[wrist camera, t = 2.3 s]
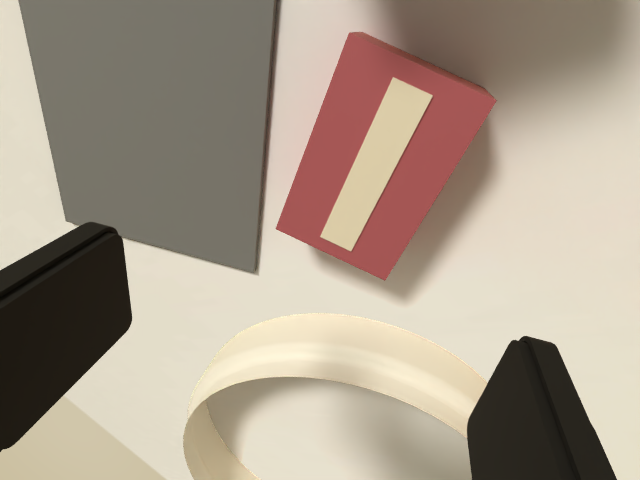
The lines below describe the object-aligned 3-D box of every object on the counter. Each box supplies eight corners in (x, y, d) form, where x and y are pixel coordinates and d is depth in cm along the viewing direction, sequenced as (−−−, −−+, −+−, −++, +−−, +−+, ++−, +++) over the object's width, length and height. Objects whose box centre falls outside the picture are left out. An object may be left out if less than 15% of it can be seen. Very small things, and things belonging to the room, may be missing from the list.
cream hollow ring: (387, 249, 24) (378, 301, 19) (582, 501, 31) (610, 585, 26) (153, 378, 37) (113, 428, 32) (326, 537, 43) (314, 598, 38)
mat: (284, -98, 17) (281, -101, 17) (256, 269, 27) (253, 273, 27) (-4, -137, 19) (-12, -140, 19) (70, 219, 29) (66, 221, 29)
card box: (363, 32, 19) (348, 32, 15) (483, 87, 19) (496, 100, 15) (297, 200, 24) (275, 229, 21) (391, 244, 24) (385, 281, 20)
